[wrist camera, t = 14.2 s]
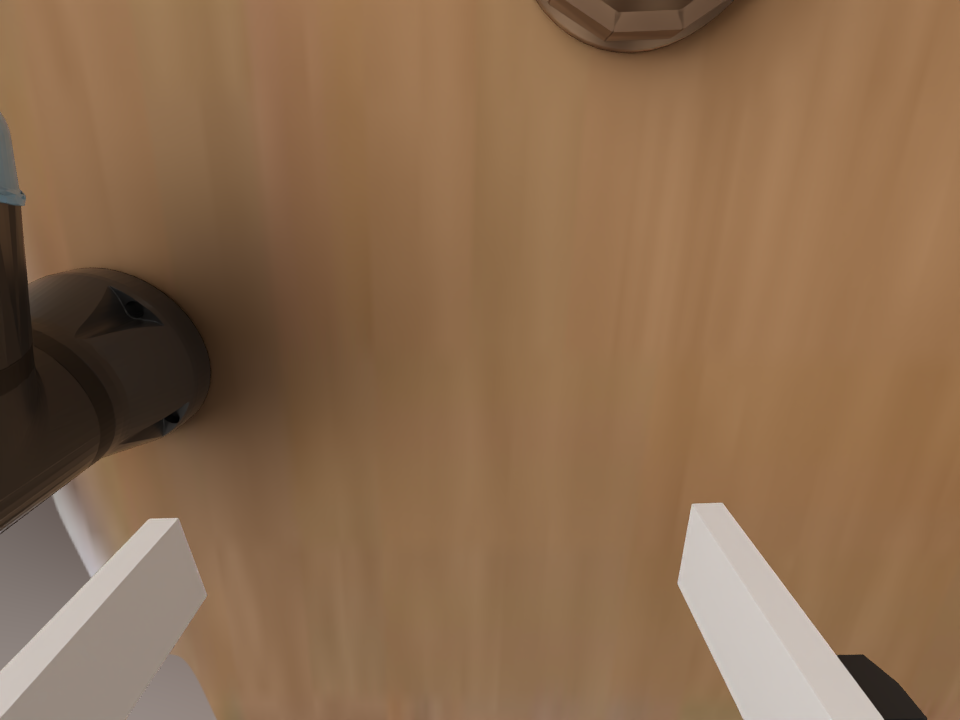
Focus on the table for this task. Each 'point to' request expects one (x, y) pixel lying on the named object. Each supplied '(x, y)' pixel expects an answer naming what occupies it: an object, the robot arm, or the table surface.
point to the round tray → (631, 21)
